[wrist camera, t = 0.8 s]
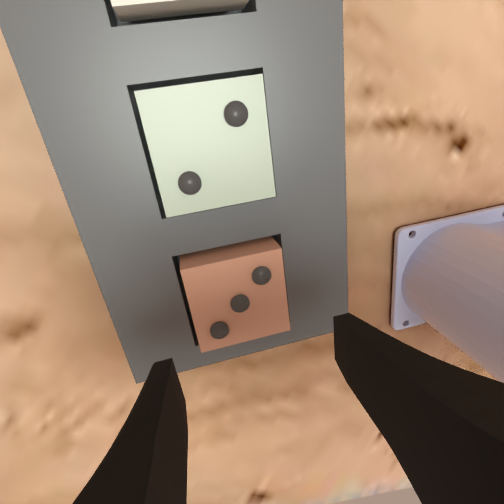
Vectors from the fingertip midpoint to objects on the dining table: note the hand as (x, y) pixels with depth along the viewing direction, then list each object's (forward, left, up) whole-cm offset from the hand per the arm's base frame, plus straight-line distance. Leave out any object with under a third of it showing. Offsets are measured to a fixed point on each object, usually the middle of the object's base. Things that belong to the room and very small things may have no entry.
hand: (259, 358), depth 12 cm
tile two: (0, -7, -6) cm, 9 cm away
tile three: (0, 0, -6) cm, 6 cm away
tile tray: (0, -7, -8) cm, 11 cm away
